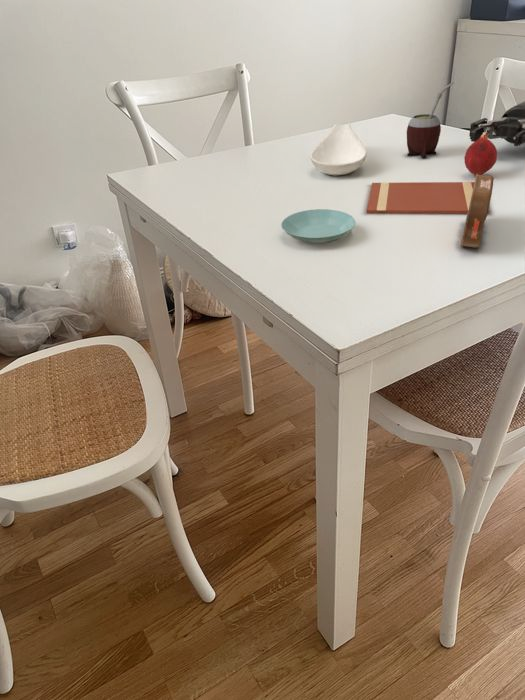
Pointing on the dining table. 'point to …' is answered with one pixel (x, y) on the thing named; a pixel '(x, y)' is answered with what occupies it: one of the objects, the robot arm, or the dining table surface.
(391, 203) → the towel
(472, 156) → the red pomegranate
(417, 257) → the dining table surface
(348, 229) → the saucer
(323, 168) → the spoon rest
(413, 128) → the mate gourd
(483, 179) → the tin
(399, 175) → the dining table surface
